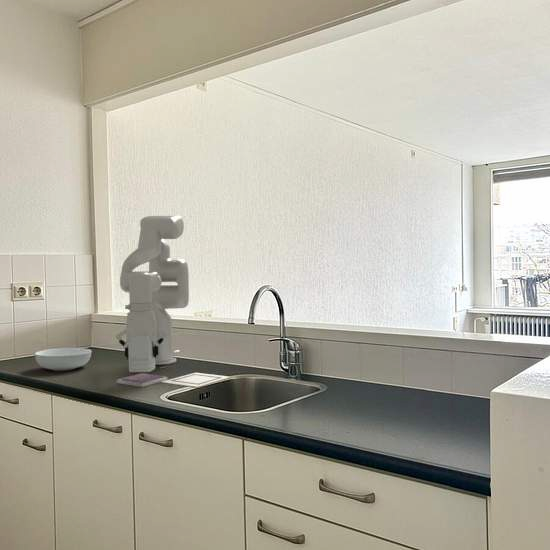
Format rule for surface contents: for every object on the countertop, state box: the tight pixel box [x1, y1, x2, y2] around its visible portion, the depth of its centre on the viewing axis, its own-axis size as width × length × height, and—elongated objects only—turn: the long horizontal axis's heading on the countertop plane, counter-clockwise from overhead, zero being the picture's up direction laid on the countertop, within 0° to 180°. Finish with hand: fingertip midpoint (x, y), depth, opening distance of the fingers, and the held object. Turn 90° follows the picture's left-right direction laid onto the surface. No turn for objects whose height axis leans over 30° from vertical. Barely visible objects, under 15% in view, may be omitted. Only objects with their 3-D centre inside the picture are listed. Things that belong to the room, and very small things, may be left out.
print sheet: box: [160, 372, 231, 389], centre depth 199 cm, size 18×16×1 cm
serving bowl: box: [34, 347, 92, 372], centre depth 225 cm, size 21×21×7 cm
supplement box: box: [128, 334, 156, 373], centre depth 197 cm, size 7×7×13 cm
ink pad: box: [116, 372, 168, 388], centre depth 198 cm, size 12×12×2 cm
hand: (141, 358), depth 197 cm, fingers closed on supplement box, 8 cm apart
